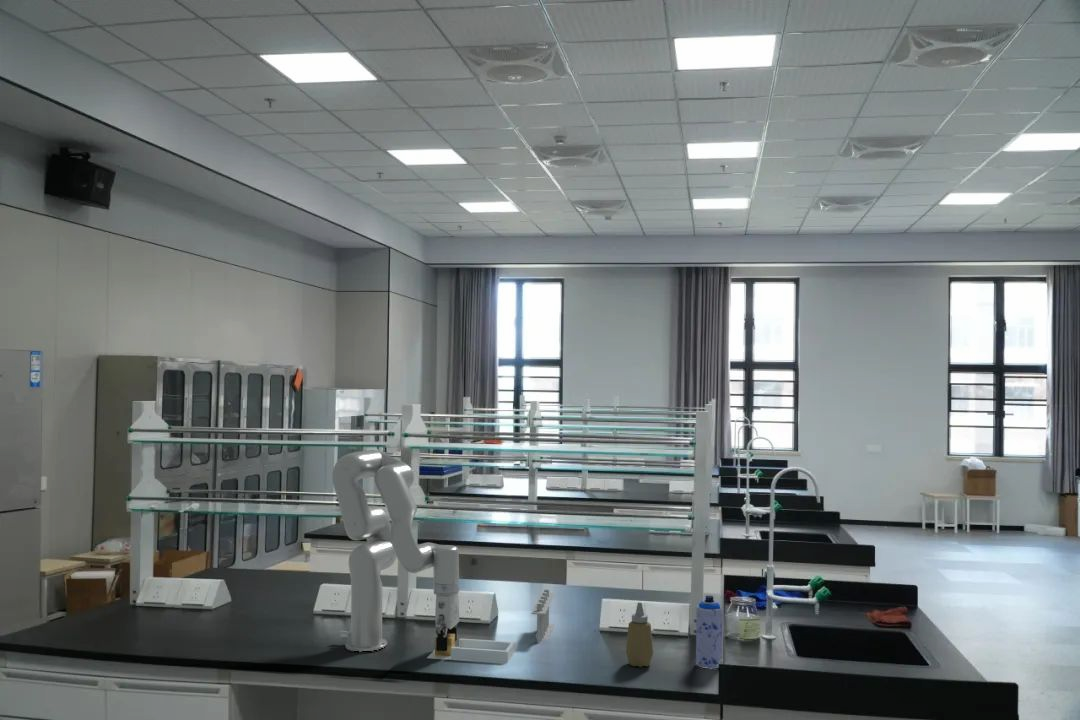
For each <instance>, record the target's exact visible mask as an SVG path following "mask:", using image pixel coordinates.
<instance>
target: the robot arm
mask: <svg viewBox="0 0 1080 720" xmlns="http://www.w3.org/2000/svg"><path fill="white" fill-rule="evenodd" d="M334 464H335V465H334V466H333V469H332V472H331V480H332V481H331V483H332V486H333V489H334V492H335V494H336V498H337V501H338V505H339V510H340V514H341V518H342V522H343V526H344V529H345V532H346V535H347V537H348V538H349V539H351V540H353V541H361V540H366V543H362V544H360V545H358V546H356V547H355V548H353V550H352V551H351V552H350V554H349V557H348V570H349V576H350V589H351V590H350V596H351V598H350V599H351V600H350V630H348V631H346V630H339V631H338V632H339V633H338V637H339V639H340V640H347V641H346V643H345V648H346V650H348V651H351V652H354V651H359V652H358V653H363V652H362V651H372V652H374V651H373V650H377V651H379V650H378V649H381V648H383V649H385V648H386V647H387V646H388V641H387V640H386V639H385V638H383V582H382V579H381V576H380V572H381V571H383V570H385V569H388V568H390V567H391V566H392V565H394V564H395V562H396V560H397V558H398V562H399V563H400V565H401V566H402V568H403V569H404V570H405V571H406V572H408V573H412V574H417V573H420V572H423V571H425V570H428V569H431V568H433V594H434V595H436V596H435V608H434V609H435V613H434V615H435V617H434V618H435V619H434V623H435V629H436V630H435V633H436V634H435V638H436V650H437V651H447V637H446V634H455V642H456V641H457V637H458V635H457V631H458V629H457V627H458V624H459V622H460V604H459V602H460V601H459V600H460V599H459V594H460V564H459V563H460V557H459V555H460V551H459V548H458V547H457V546H455V545H450V544H445V545H443V544H437V543H435V542H434V543H433V542H428V541H427V542H424V543H421V544H417V541H416V540H415V538H414V536H413V535H414V534H413V529H412V525H413V519H414V518H415V516H416V514H417V512H418V511H417V510H418V506H417V504H416V502H415V500H414V498H413V495H412V493H411V491H410V489H409V488H410V487H411V486H412V485H413V483H414V480H415V475H414V474H415V473H414V471H413V469H412V468H411V467H410V466H409V465H408V464H407V463H405V462H404V461H401V460H399V459H398V458H394V457H392V456H390V455H388V454H387V453H384V452H382V451H379V450H375V449H369V450H362V451H353V452H350V453H348V454H347V453H346V454H345V455H343V456H341V457H340V458H339V459H338V460H337V461H336V463H334ZM367 478H368V479H369V478H374V482H375V486H376V488H377V491H378V493H379V495H380V497H381V499H382V502H383V503H384V505H385V508H386V510H387V511H386V512H388V515H389V516H388V515H387V513H386V512H385V510H384V509H383V508H381V507H379V506H377V505H369V503H368V499H367V495H366V492H365V490H364V489H363V487H362V485H361V484H360V482H359V481H360V480H361V479H367ZM389 517H390V519H389ZM390 520H391V522H390ZM386 645H387V646H386ZM385 646H386V647H385ZM384 647H385V648H384ZM381 650H382V649H381Z"/></svg>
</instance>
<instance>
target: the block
mask: <svg viewBox="0 0 1080 720" xmlns="http://www.w3.org/2000/svg"><path fill="white" fill-rule="evenodd" d="M446 637H447V651H437V650H436V637H434V650H435V655H440V656H451V647H456V641H455V634H446Z"/></svg>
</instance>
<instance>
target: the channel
mask: <svg viewBox="0 0 1080 720" xmlns="http://www.w3.org/2000/svg"><path fill="white" fill-rule="evenodd" d="M515 653H516V642H515V641H505V640H504V641H503V640H490V639H489V640H488V639H473V638H463V637H462V638H459V639H458V646H455V647H451V656H440V655H435V649H434V650H433V651H432V652H431V653H430V654H429V655H428V656H427V657H426V659H434V660H445V661H447V660H448V661H449V660H450V661H460V662H461V661H462V662H472V663H473V662H477V663H489V664H490V663H491V664H502V665H507V664H508V663H509V661H510V660H511V659H512V657H513V656H514V654H515Z"/></svg>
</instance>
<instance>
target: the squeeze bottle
mask: <svg viewBox="0 0 1080 720" xmlns="http://www.w3.org/2000/svg"><path fill="white" fill-rule="evenodd" d="M643 607H644V606H643V603H642V602H640V601H639V602H637V605H636V609H635V613H632V614H631V621H630V622H628V627H627V636H626V637H627V638H626V646H625V654H626V659H627V660H628V664H629V665H630V666H632V667H635V666H639V667H638V668H643V667H642V666H646V667H649V666H650V664H651V661H652V658H653V655H654V646H653V645H654V644H653V635H652V625H651V623H650V622H649V621H648V617H649V615H648V614H646V613H645V611H644V608H643ZM648 665H649V666H648Z"/></svg>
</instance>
